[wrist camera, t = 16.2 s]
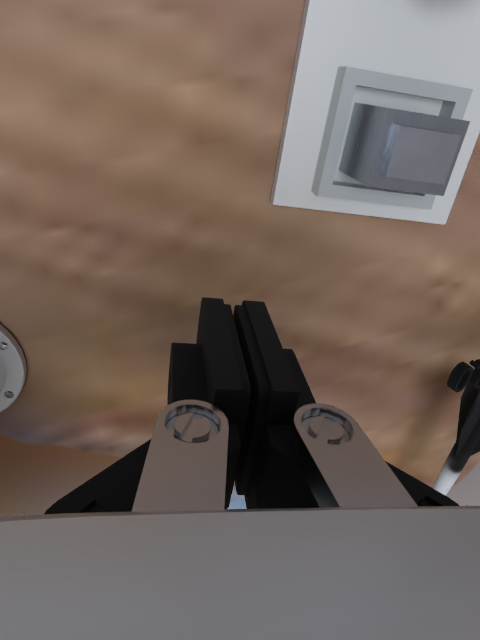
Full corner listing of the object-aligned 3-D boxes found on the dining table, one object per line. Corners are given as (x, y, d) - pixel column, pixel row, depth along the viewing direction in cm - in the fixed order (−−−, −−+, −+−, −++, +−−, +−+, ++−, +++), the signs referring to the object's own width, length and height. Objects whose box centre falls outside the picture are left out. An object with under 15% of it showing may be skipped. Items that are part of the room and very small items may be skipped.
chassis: (438, 220, 41) (475, 241, 36) (270, 201, 38) (284, 220, 33) (565, -131, 30) (645, -172, 25) (340, -198, 27) (379, -261, 22)
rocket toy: (609, 381, 38) (489, 553, 48) (554, 342, 43) (457, 504, 54) (461, 368, 35) (367, 554, 45) (422, 328, 40) (346, 503, 51)
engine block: (405, 178, 37) (449, 198, 31) (338, 169, 36) (370, 189, 30) (425, 114, 35) (477, 122, 29) (354, 102, 34) (393, 108, 28)
